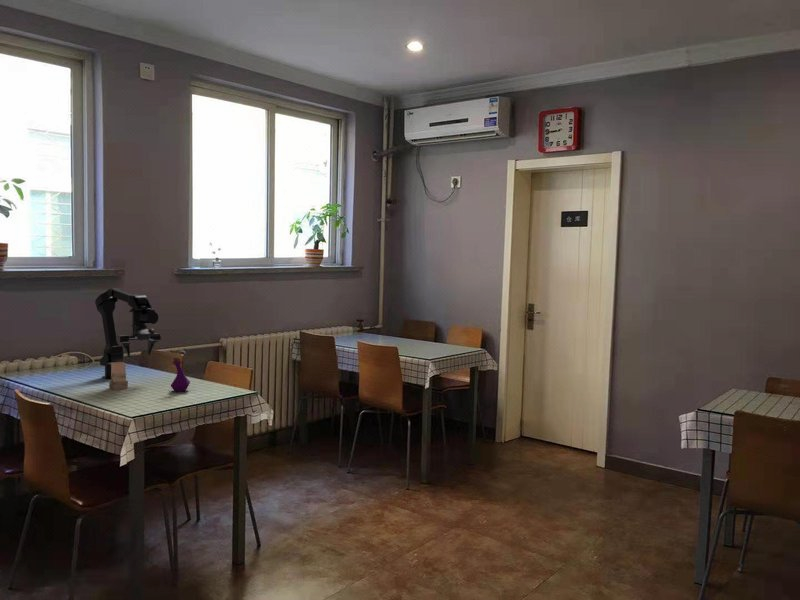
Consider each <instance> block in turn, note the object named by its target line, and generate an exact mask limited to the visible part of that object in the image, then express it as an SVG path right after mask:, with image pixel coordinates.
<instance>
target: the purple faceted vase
mask: <svg viewBox="0 0 800 600" xmlns="http://www.w3.org/2000/svg"><path fill="white" fill-rule="evenodd" d="M180 352H183V353H184V354H185V355H187V354H186V351H185V350H183V349H182V350H180V351H178V352H177V354H176V356H174V357H173V361H172V364H174V366H175V368H176V375H175V378H174V379H173V381H172V383H171V384H170V387H171V389H172V390H173V391H174V392H175V393H186V391H187V389H188V388H189V387H190V384H191V380H189V378H187V376H186V374H185V373H184V372H183V368H182V366H181V365H182V360H181V357H179V356H178V355H179V353H180Z"/></svg>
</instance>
